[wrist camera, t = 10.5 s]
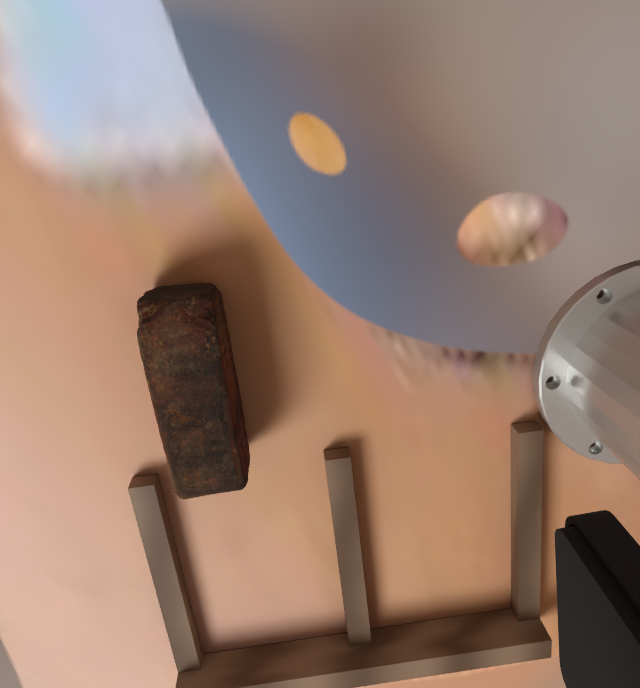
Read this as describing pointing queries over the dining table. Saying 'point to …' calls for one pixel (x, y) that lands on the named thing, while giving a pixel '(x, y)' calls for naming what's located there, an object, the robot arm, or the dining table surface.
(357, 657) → the lane rack
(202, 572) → the dining table surface
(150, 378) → the brick
